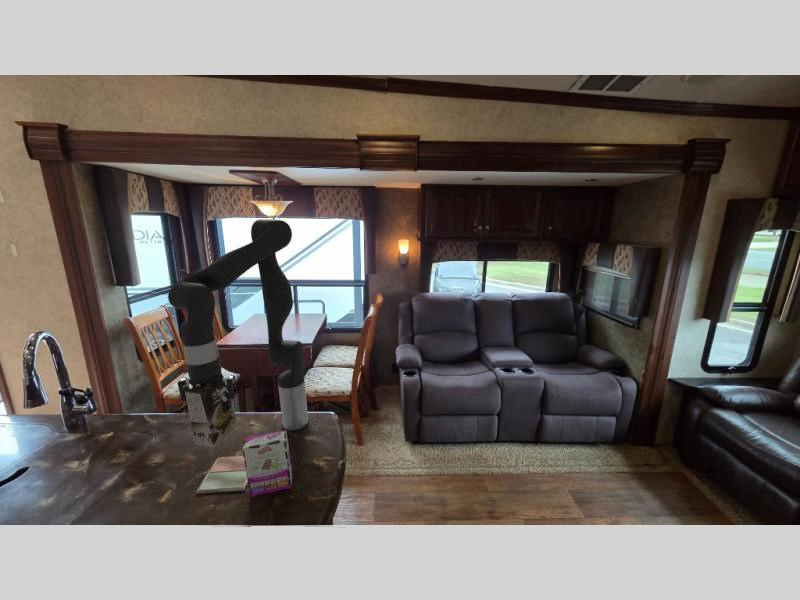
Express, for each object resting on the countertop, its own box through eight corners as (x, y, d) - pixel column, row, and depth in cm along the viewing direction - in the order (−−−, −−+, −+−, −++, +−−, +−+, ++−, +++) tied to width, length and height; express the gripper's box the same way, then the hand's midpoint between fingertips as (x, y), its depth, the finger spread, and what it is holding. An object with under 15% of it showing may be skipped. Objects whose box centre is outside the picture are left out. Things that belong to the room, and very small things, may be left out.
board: (218, 459, 101) (218, 457, 101) (259, 456, 102) (259, 454, 102) (196, 493, 88) (196, 490, 88) (244, 490, 90) (243, 487, 89)
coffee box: (214, 448, 83) (204, 394, 79) (194, 444, 85) (183, 391, 80) (238, 426, 92) (230, 376, 88) (219, 423, 93) (210, 374, 89)
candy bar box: (292, 475, 95) (287, 429, 90) (291, 488, 90) (286, 440, 86) (252, 484, 92) (245, 436, 87) (249, 498, 87) (241, 448, 83)
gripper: (236, 350, 86) (244, 402, 90) (182, 352, 85) (193, 405, 89) (224, 362, 79) (233, 419, 83) (164, 365, 78) (177, 422, 82)
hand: (212, 411), depth 86 cm, fingers closed on coffee box, 7 cm apart
